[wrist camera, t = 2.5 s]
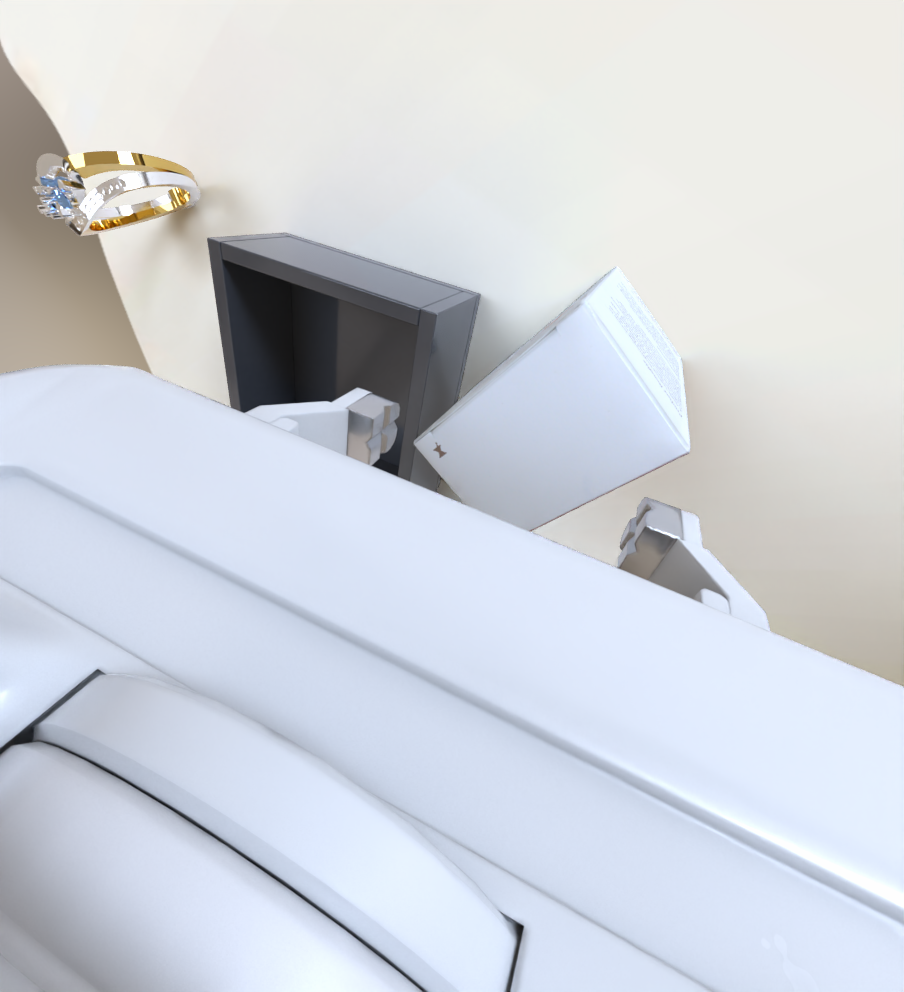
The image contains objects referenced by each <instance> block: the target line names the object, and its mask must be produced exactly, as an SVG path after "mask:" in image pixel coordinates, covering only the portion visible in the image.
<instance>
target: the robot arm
mask: <svg viewBox="0 0 904 992" xmlns="http://www.w3.org/2000/svg"><path fill="white" fill-rule="evenodd" d="M399 412H400V406H399V403H396V402H394V401H391V400H389V399H386V398H384V397H381V396H379V395H376V394H374V393H372V392H370V391H367V390H364V389H361V388H356V389H354V390H352V391H350V392H349V393H347V394H345V395H343V396H342V397H340V398H338V399H336V400H335V401H333V402H328V401H321V402H306V403H291V404H276V405H261V406H258V407H256V408H254V409H252V410H250V411H248V412H245V413H243V412H241V411H238V410H236V409H233V408H231V407H229V406H226V405H224V404H221V403H219V402H216V401H214V400H212V399H209V398H207V397H204V396H202V395H200V394H197V393H195V392H192V391H190V390H188V389H185V388H183V387H180V386H178V385H176V384H173V383H171V382H168V381H166V380H163V379H161V378H159V377H157V376H155V375H152V374H150V373H148V372H145V371H143V370H140V369H138V368H134V367H126V366H114V365H79V364H71V365H49V366H41V367H34V368H27V369H22V370H17V371H12V372H6V373H2V374H0V992H904V687H903V686H901V685H899V684H896V683H894V682H891V681H889V680H886V679H884V678H881V677H879V676H877V675H874V674H872V673H869V672H867V671H864V670H862V669H860V668H857V667H855V666H852V665H850V664H848V663H845V662H843V661H840V660H838V659H836V658H833V657H831V656H828V655H826V654H824V653H821V652H819V651H816V650H814V649H812V648H809V647H807V646H804V645H802V644H800V643H797V642H795V641H792V640H790V639H788V638H785V637H783V636H780V635H778V634H775V633H773V632H771V630H770V627H769V623H768V619H767V615H766V612H765V611H764V610H763V609H762V608H761V607H760V605H759V604H758V603H757V602H756V601H755V600H754V599H753V598H752V597H751V596H750V595H749V594H748V592H747V591H746V590H745V589H744V588H743V587H742V586H741V585H740V584H739V583H738V582H737V581H736V580H735V578H734V577H733V576H732V575H731V574H730V573H729V572H728V571H727V570H726V569H725V568H724V567H723V565H722V564H721V563H720V562H719V561H718V560H717V559H716V558H715V557H714V556H713V555H712V554H711V552H710V551H709V550H707V549H704V548H703V543H702V536H701V529H700V522H699V517H698V516H697V515H695V514H692V513H689V512H686V511H683V510H681V509H678V508H676V507H673V506H670V505H667V504H664V503H661V502H659V501H656V500H653V499H650V498H647V497H644V499H643V500H642V501H641V503H640V504H639V506H638V507H637V515H636V517H635V518H632V519H630V521H629V523H628V524H627V526H626V528H625V530H624V533H623V535H622V538H621V542H620V549H621V550H622V552H621V553H620V555H619V557H618V566H617V568H616V567H614V566H611V565H609V564H607V563H604V562H602V561H599V560H597V559H595V558H592V557H590V556H587V555H585V554H583V553H580V552H578V551H575V550H573V549H570V548H568V547H566V546H563V545H561V544H558V543H556V542H554V541H551V540H549V539H546V538H544V537H542V536H539V535H537V534H534V533H532V532H529V531H527V530H525V529H522V528H520V527H517V526H515V525H513V524H510V523H508V522H505V521H503V520H501V519H498V518H496V517H493V516H491V515H489V514H486V513H484V512H481V511H479V510H477V509H474V508H472V507H469V506H467V505H465V504H462V503H460V502H457V501H455V500H452V499H450V498H448V497H445V496H443V495H440V494H438V493H436V492H433V491H431V490H428V489H426V488H424V487H421V486H419V485H416V484H414V483H412V482H409V481H407V480H404V479H402V478H400V477H397V476H395V475H392V474H390V473H388V472H385V471H383V470H380V469H378V468H376V467H373V466H372V465H373V464H374V463H375V462H376V461H377V460H378V459H379V457H380V454H381V453H386V452H387V451H388V450H389V449H391V447H392V445H393V443H394V442H395V438H396V435H397V426H396V424H395V422H394V420H396V419H397V418H398V417H399Z"/></svg>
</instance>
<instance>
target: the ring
mask: <svg viewBox="0 0 904 992" xmlns="http://www.w3.org/2000/svg"><path fill="white" fill-rule="evenodd" d="M118 170H134V171H144V172H141V173H133V174H127V175H123V176H119V177H116V178H113V179H110V180H108V181H106V182H104V183H102V184H101V185H99V186H98V187H96V188H95V189H94V190H93V191H92V192H90V194H89V195H88V196H87V197H86V198H85V190H86V189H85V188H84V184H83V181H82V179H81V177H82V178H88V177H90V176H93V175H96V174H99V173H103V172H109V171H118ZM60 171H63V172H65V173H66V174H67V175H68V177H69V178H66V177H59V176H58V177H57V174H58V173H59V172H60ZM35 180H36V181H37V182H38V183H39V184H40V185H41V186H36V187H33V189H34V190H35V192H36V193H37V194H38V195H42V194H43V195H44V194H45V195H46V197H40V200H41V202H42V203H43V204H47V205H39V206H37V207H38V209H39V211H40V213H41V214H42V213H44V214H45V216H46V217H52V218H53V219H60V218H66V225H67V226H68V227H69V228H70V229H72V230H73V231H74V232H75V233H76V234H77V235H78V236H87V235H92V234H97V233H101V232H106V231H110V230H114V229H118V228H122V227H126V226H130V225H134V224H138V223H141V222H145V221H148V220H152V219H155V218H158V217H162V216H165V215H167V214H170V213H173V212H176V211H178V210H181V209H183V208H190V207H193V206H194V205H195V204H194V203H195V202H196V201H197V200H198V199H199V198H200V196H201V194H200V191H199V189H198V185H197V182H196V180H195V178H194V175H193V174H192V173H191V172H190V171H189V170H188V169H186V168H185V167H183V166H181V165H179V164H176V163H174V162H171V161H168V160H165V159H162V158H158V157H154V156H149V155H144V154H138V153H130V152H117V151H100V152H87V153H80V154H75V155H71V156H67V157H64V158H62V157H60V156H58V155H55V154H50V153H48V154H43V155H42V156H40V157H39V159H38V161H37V176H36V178H35ZM156 186H169V187H177V188H174V189H171V190H169V191H168V192H169V194H168V195H165V196H163V197H160V198H157V199H154V200H151V201H148V202H144V203H139V204H135V205H129V206H123V207H113V208H102V207H103V206H104V205H105V204H106V203H108V202H109V201H110V200H112V199H113V198H115V197H116V196H118V195H120V194H123V193H125V192H128V191H131V190H135V189H140V188H146V187H156ZM93 220H100V221H93Z"/></svg>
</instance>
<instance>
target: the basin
mask: <svg viewBox="0 0 904 992" xmlns="http://www.w3.org/2000/svg"><path fill="white" fill-rule="evenodd" d="M207 241H208V248H209V255H210V262H211V269H212V276H213V284H214V291H215V298H216V305H217V312H218V319H219V326H220V333H221V340H222V347H223V355H224V362H225V369H226V376H227V383H228V390H229V397H230V404H231V408H233V409H236V410H238V411H241V412H243V413H245V412H248V411H250V410H252V409H254V408H256V407H258V406H261V405H276V404H291V403H306V402H321V401H328V402H333V401H335V400H336V399H338V398H340V397H342V396H343V395H345V394H347V393H349V392H350V391H352V390H354V389H356V388H361V389H364V390H367V391H370V392H372V393H374V394H376V395H379V396H381V397H384V398H386V399H389V400H391V401H394V402H396V403H399V406H400V412H399V417H398V418H397V419H396V420H394V422H395V424H396V426H397V435H396V438H395V442H394V443H393V445H392V447H391V449H389V450H388V451H387V452H386V453H381V454H380V457H379V459H378V460H377V461H376V462H375V463H374V464H373V465H372V466H373V467H376V468H378V469H380V470H383V471H385V472H388V473H390V474H392V475H395V476H397V477H400V478H402V479H404V480H407V481H409V482H412V483H414V484H416V485H419V486H421V487H424V488H426V489H428V490H431V491H433V492H435V491H436V490H437V489H438V487H439V484H440V479H441V476H440V475H439V474H438V472H437V471H436V470H435V469H434V468H433V467H432V466H431V464H430V463H429V462H428V461H427V459H426V458H425V457H424V456H423V455H422V454H421V452H420V451H419V450H418V449H417V448H416V446H415V445H414V440H415V439H416V438H418V437H419V436H420V435H421V434H422V433H423V432H425V431H426V430H427V429H428V428H429V427H430V426H431V425H432V424H433V423H435V422H436V421H437V420H438V419H439V418H440V417H441V416H442V415H444V414H445V413H446V412H447V411H448V410H449V409H450V408H451V407H452V406H453V405H454V404H456V403H457V401H458V397H459V392H460V387H461V383H462V378H463V374H464V369H465V364H466V360H467V355H468V351H469V346H470V341H471V337H472V332H473V328H474V323H475V318H476V314H477V309H478V305H479V300H480V294H479V293H476V292H472V291H469V290H466V289H463V288H460V287H457V286H453V285H450V284H447V283H444V282H441V281H437V280H434V279H431V278H428V277H425V276H422V275H418V274H415V273H412V272H409V271H406V270H402V269H399V268H396V267H393V266H390V265H387V264H383V263H380V262H377V261H374V260H371V259H367V258H364V257H361V256H358V255H355V254H352V253H348V252H345V251H342V250H339V249H336V248H332V247H329V246H326V245H323V244H320V243H317V242H313V241H310V240H307V239H304V238H301V237H297V236H294V235H291V234H288V233H272V234H257V235H242V236H227V237H211V238H207Z"/></svg>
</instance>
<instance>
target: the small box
mask: <svg viewBox="0 0 904 992" xmlns="http://www.w3.org/2000/svg"><path fill="white" fill-rule="evenodd" d="M414 445H415V446H416V448H417V449H418V450H419V451H420V452H421V454H422V455H423V456H424V457H425V458H426V459H427V461H428V462H429V463H430V464H431V466H432V467H433V468H434V469H435V470H436V471H437V472H438V474H439V475H440V476H441V477H442V478H443V480H444V481H445V482H446V483H447V484H448V485H449V486H450V488H451V489H452V490H453V491H454V492H455V493H456V495H457V496H458V497H459V498H460V499H461V500H462V502H463V503H464V504H465V505H467V506H469V507H472V508H474V509H477V510H479V511H481V512H484V513H486V514H489V515H491V516H493V517H496V518H498V519H501V520H503V521H505V522H508V523H510V524H513V525H515V526H517V527H520V528H522V529H525V530H527V531H529V532H530V531H532V530H534V529H536V528H538V527H540V526H542V525H544V524H546V523H548V522H551V521H553V520H555V519H557V518H559V517H561V516H562V515H564V514H566V513H568V512H570V511H572V510H574V509H577V508H579V507H581V506H582V505H584V504H586V503H589V502H591V501H593V500H595V499H597V498H598V497H600V496H603V495H605V494H607V493H609V492H611V491H613V490H615V489H617V488H619V487H621V486H623V485H625V484H627V483H629V482H631V481H633V480H635V479H637V478H639V477H641V476H643V475H645V474H647V473H649V472H651V471H653V470H655V469H658V468H660V467H662V466H664V465H666V464H668V463H670V462H672V461H674V460H676V459H678V458H680V457H682V456H684V455H687V454H689V452H690V436H689V426H688V417H687V409H686V394H685V386H684V377H683V367H682V359H681V358H680V356H679V354H678V353H677V351H676V350H675V348H674V347H673V345H672V344H671V342H670V341H669V339H668V338H667V336H666V335H665V333H664V332H663V330H662V329H661V327H660V326H659V325H658V323H657V322H656V320H655V319H654V317H653V316H652V315H651V313H650V312H649V310H648V309H647V307H646V306H645V304H644V303H643V301H642V300H641V298H640V297H639V296H638V294H637V293H636V291H635V290H634V288H633V287H632V285H631V284H630V283H629V281H628V280H627V278H626V277H625V276H624V274H623V273H622V271H621V270H620V269H619V267H615V268H613V269H612V270H611V271H610V272H608V273H607V274H606V275H605V276H604V277H602V278H601V279H600V280H599V281H598V282H597V283H595V284H594V285H593V286H592V287H591V288H589V289H588V290H587V291H586V292H585V293H584V294H583V295H581V296H580V297H579V298H578V299H577V300H576V301H574V302H573V303H572V304H571V305H570V306H569V307H567V308H566V309H565V310H564V311H563V312H562V313H560V314H559V315H558V316H557V317H556V318H555V319H553V320H552V321H551V322H550V323H549V324H547V325H546V326H545V327H544V328H543V329H541V330H540V331H539V332H538V333H537V334H536V335H534V336H533V337H532V338H531V339H530V340H528V341H527V342H526V343H525V344H524V345H522V346H521V347H520V348H519V349H518V350H517V351H515V352H514V353H513V354H512V355H511V356H509V357H508V358H507V359H506V360H505V361H503V362H502V363H501V364H500V365H499V366H498V367H496V368H495V369H494V370H493V371H492V372H491V373H490V374H488V375H487V376H486V377H485V378H484V379H483V380H481V381H480V382H479V383H478V384H477V385H476V386H475V387H474V388H472V389H471V390H470V391H469V392H468V393H467V394H466V395H464V396H463V397H462V398H461V399H460V400H459V401H458V402H457V403H456V404H454V405H453V406H452V407H451V408H450V409H449V410H448V411H447V412H446V413H445V414H444V415H442V416H441V417H440V418H439V419H438V420H437V421H436V422H435V423H433V424H432V425H431V426H430V427H429V428H428V429H427V430H426V431H425V432H423V433H422V434H421V435H420V436H419V437H418V438H416V439H415V440H414Z"/></svg>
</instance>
